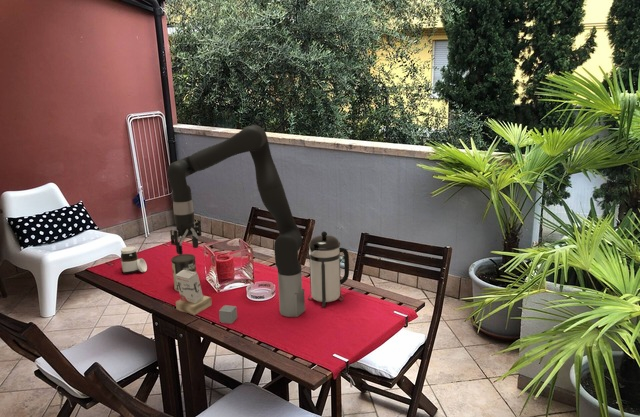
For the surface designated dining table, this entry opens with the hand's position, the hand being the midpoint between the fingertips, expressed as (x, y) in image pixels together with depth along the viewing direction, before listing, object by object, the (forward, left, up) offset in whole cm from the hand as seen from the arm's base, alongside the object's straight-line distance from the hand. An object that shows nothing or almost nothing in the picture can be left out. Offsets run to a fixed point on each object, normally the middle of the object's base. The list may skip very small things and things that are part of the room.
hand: (188, 250), depth 203 cm
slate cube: (-20, +2, -25) cm, 32 cm away
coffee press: (-45, -32, -25) cm, 61 cm away
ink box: (0, 0, -21) cm, 21 cm away
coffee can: (+18, -14, -25) cm, 34 cm away
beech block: (0, 0, -25) cm, 25 cm away
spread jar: (+55, -17, -25) cm, 63 cm away
